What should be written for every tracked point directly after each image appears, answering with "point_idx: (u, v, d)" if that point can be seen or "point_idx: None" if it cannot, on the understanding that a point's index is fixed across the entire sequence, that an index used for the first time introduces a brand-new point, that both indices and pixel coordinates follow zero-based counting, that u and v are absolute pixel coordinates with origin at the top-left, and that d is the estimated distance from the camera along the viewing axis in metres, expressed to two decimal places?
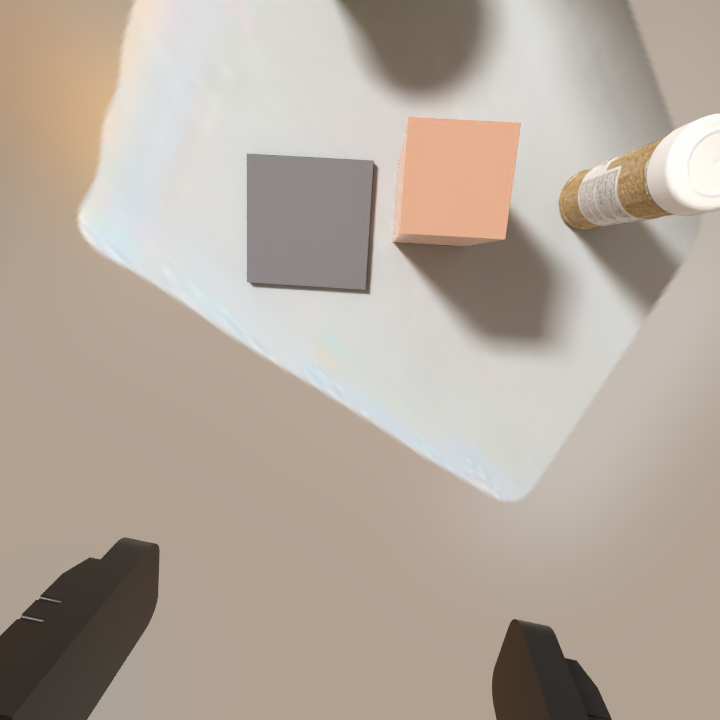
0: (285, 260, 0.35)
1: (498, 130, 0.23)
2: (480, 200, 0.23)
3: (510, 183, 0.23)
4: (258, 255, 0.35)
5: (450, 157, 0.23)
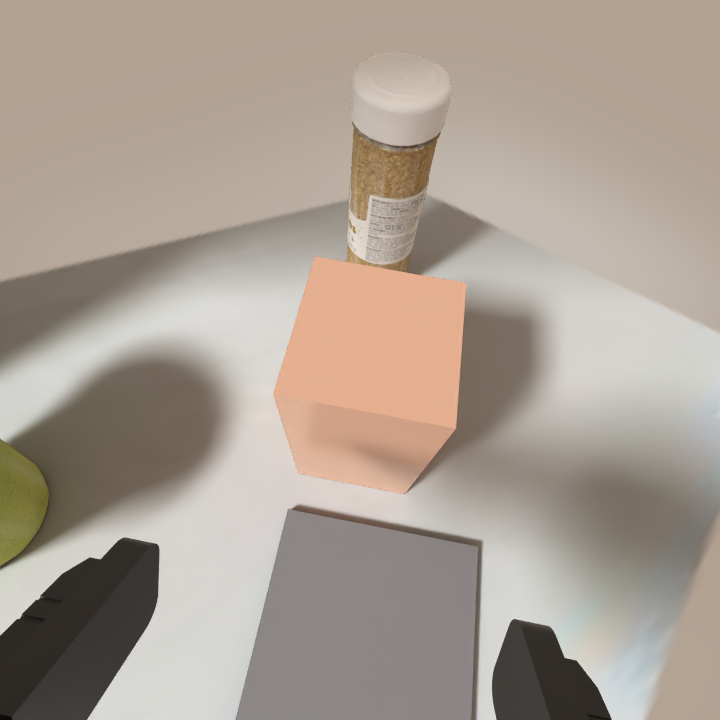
0: (426, 702, 0.18)
1: (319, 280, 0.16)
2: (410, 308, 0.16)
3: (390, 272, 0.16)
4: None
5: (344, 341, 0.15)
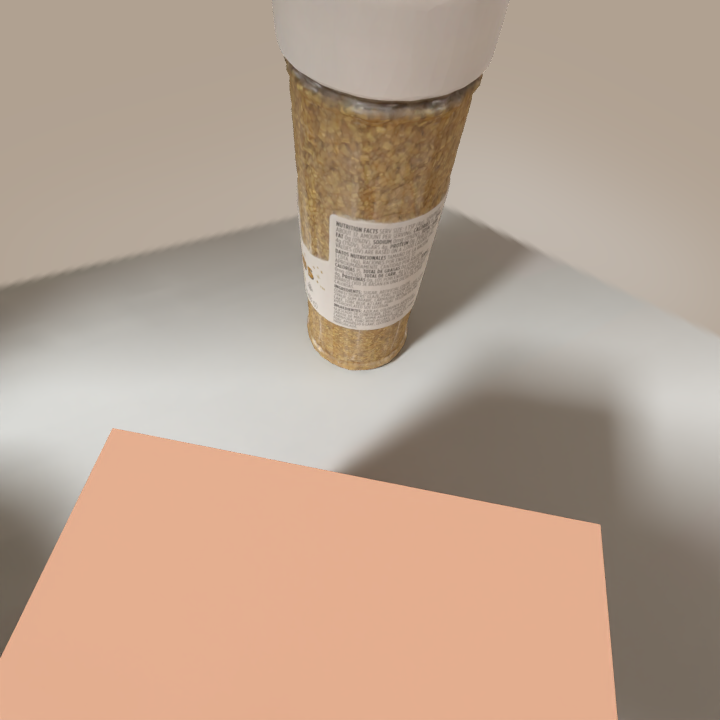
0: None
1: (102, 531, 0.05)
2: (417, 656, 0.04)
3: (352, 486, 0.05)
4: None
5: None
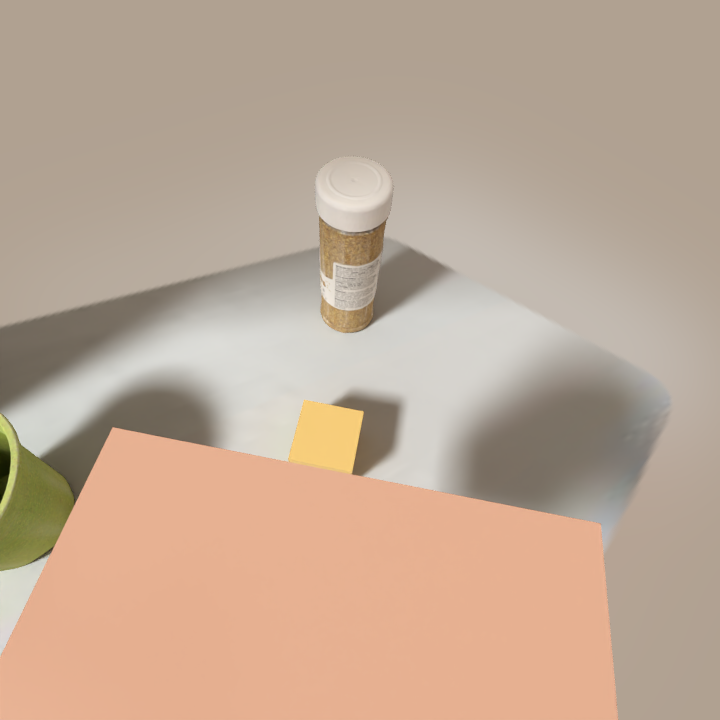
0: None
1: (102, 530, 0.05)
2: (417, 655, 0.04)
3: (352, 485, 0.05)
4: None
5: None
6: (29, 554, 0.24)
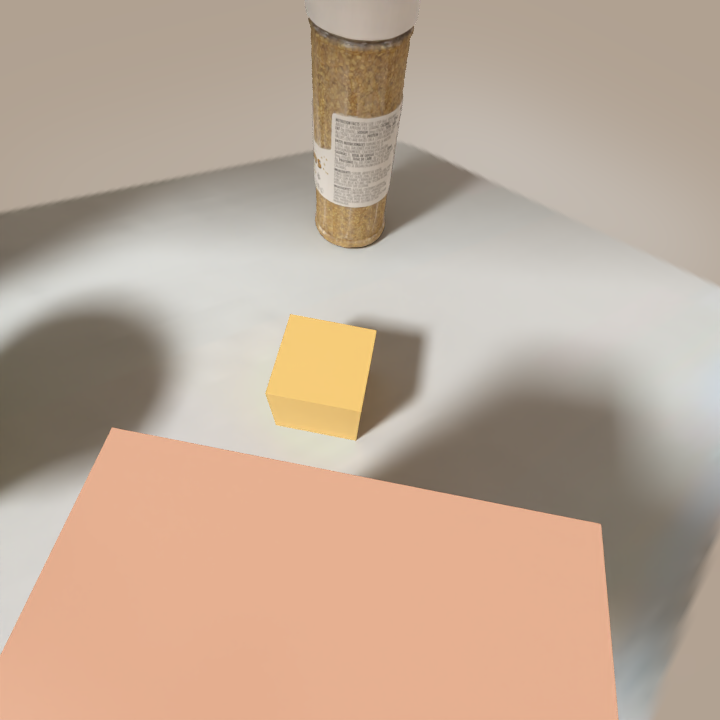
0: None
1: (101, 531, 0.05)
2: (417, 655, 0.04)
3: (352, 485, 0.05)
4: None
5: None
6: None
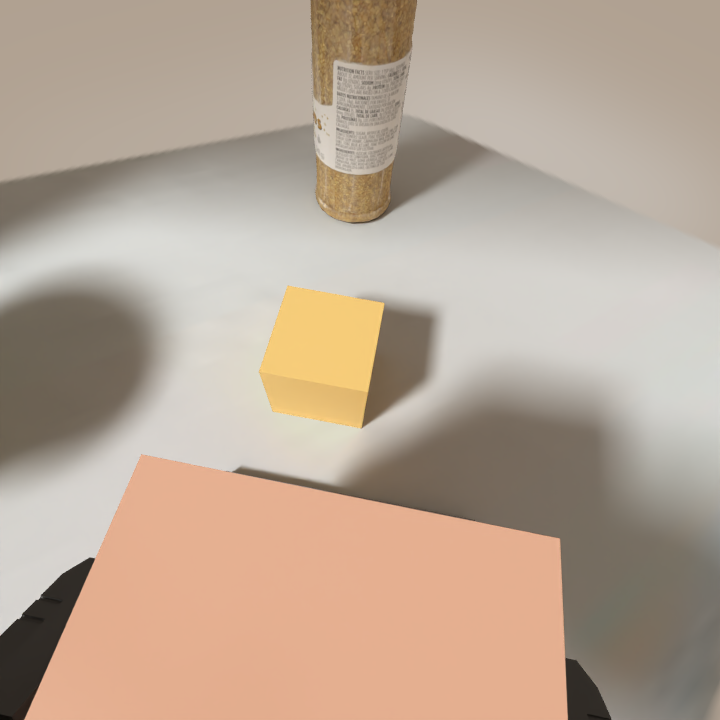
0: None
1: (135, 544, 0.05)
2: (401, 650, 0.05)
3: (347, 505, 0.06)
4: None
5: None
6: None
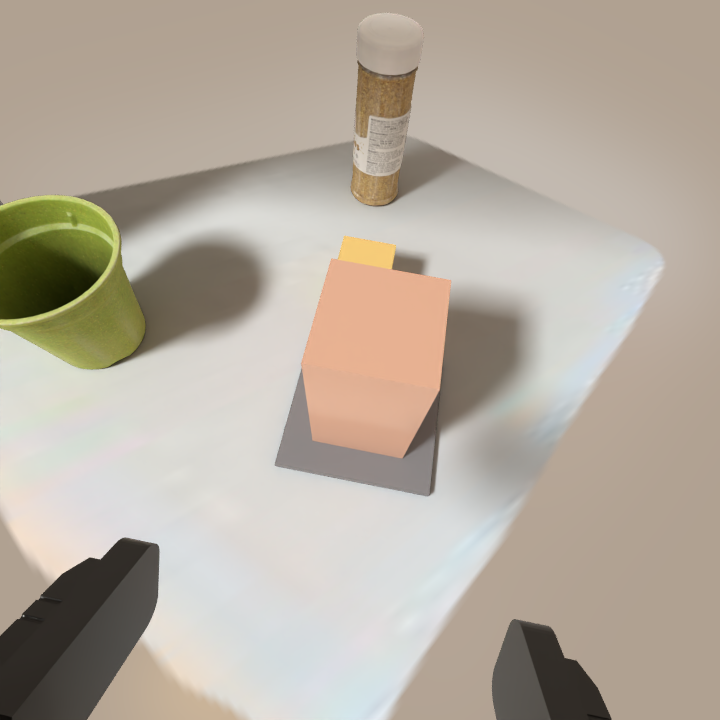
0: None
1: (334, 277, 0.20)
2: (406, 299, 0.20)
3: (391, 271, 0.21)
4: (396, 473, 0.27)
5: (355, 324, 0.19)
6: (115, 348, 0.28)
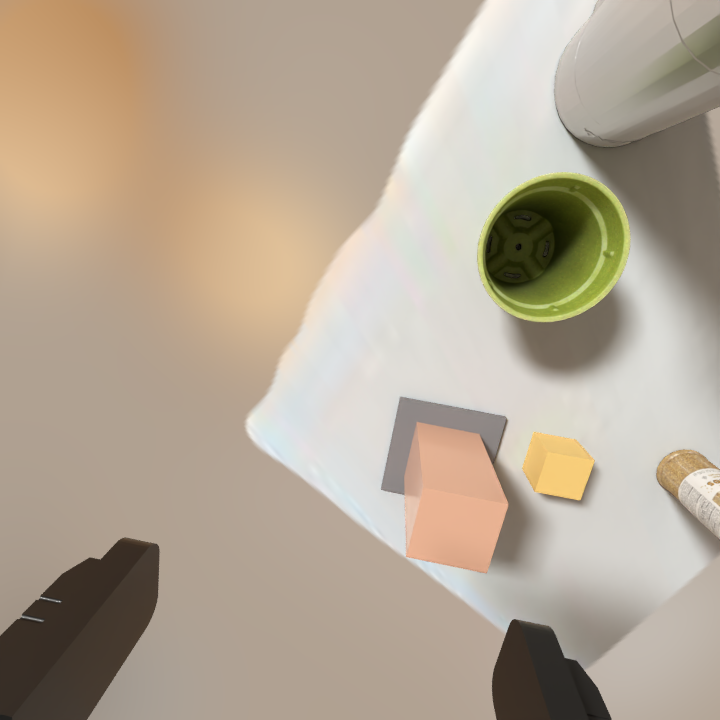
0: None
1: (490, 506, 0.29)
2: (471, 546, 0.30)
3: (495, 540, 0.30)
4: (394, 472, 0.42)
5: (451, 516, 0.30)
6: (491, 278, 0.34)
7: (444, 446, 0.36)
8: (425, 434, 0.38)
